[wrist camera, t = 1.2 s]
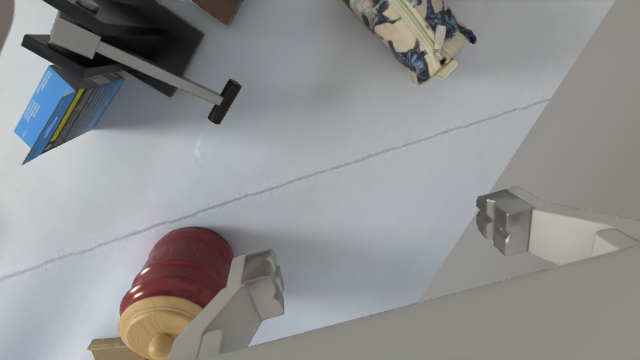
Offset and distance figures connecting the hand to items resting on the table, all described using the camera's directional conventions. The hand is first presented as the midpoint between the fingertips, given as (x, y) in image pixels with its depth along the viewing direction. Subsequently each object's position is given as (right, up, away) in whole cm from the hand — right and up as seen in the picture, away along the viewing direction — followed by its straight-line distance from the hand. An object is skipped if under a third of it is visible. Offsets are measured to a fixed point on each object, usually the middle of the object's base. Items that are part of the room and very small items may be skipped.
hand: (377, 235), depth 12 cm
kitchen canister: (-23, -11, +39) cm, 47 cm away
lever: (-19, +14, +19) cm, 30 cm away
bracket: (-24, +20, +25) cm, 40 cm away
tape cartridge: (-31, +13, +27) cm, 44 cm away
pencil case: (+5, +25, +26) cm, 37 cm away
